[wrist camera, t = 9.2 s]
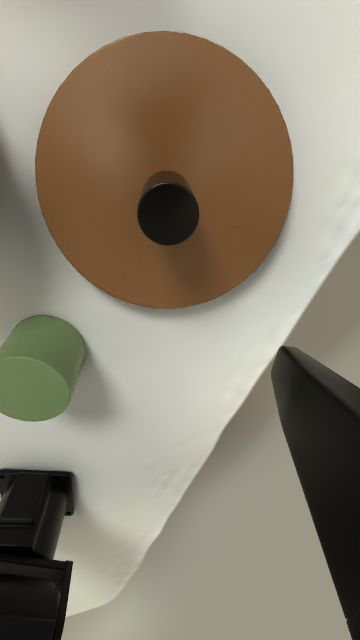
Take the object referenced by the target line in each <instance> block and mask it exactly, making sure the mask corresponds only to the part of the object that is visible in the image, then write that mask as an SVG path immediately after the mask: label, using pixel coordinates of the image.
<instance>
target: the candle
mask: <svg viewBox="0 0 360 640" xmlns="http://www.w3.org/2000/svg"><path fill="white" fill-rule="evenodd" d="M85 352H86V349H85V343H84V340H83V338H82V336H81V335H80V333H79V332H78V331H77V330H76V329H75V328H74V327H73V326H72V325H70V324H69V323H67V322H65V321H63V320H61V319H58V318H55V317H51V316H34V317H30V318H27V319H25V320H23V321H21V322H20V323H19V324H18V325H17V326H16V327H15V328H14V330H13V331H12V332H11V334H10V335H9V337H8V338H7V339H6V341H5V342H4V343H3V345H2V346H1V347H0V412H1V413H2V414H4V415H6V416H9V417H11V418H14V419H18V420H23V421H44V420H48V419H51V418H54V417H56V416H57V415H59V414H60V413H62V412H63V411H64V410H65V409H66V407H67V406H68V404H69V402H70V399H71V396H72V393H73V390H74V387H75V384H76V381H77V378H78V375H79V372H80V369H81V366H82V363H83V360H84V357H85Z"/></svg>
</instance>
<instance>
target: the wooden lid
mask: <svg viewBox="0 0 360 640" xmlns="http://www.w3.org/2000/svg"><path fill="white" fill-rule="evenodd" d="M35 172H36V186H37V193H38V199H39V202H40V206H41V210H42V214H43V216H44V219H45V221H46V224H47V226H48V229H49V231H50V233H51V235H52V237H53V239H54V240H55V242H56V244H57V246H58V247H59V249H60V250H61V252H62V253H63V254H64V256H65V257H66V259H67V260H68V261H69V262H70V263H71V264H72V265H73V267H74V268H75V269H76V270H77V271H78V272H79V273H80V274H81V275H83V276H84V277H85V278H86V279H87V280H88V281H89V282H91V283H92V284H94V285H95V286H97V287H98V288H99V289H101V290H103V291H104V292H106V293H108V294H110V295H112V296H114V297H116V298H118V299H121V300H123V301H126V302H129V303H132V304H136V305H140V306H145V307H152V308H168V309H169V308H182V307H188V306H193V305H197V304H200V303H203V302H207V301H210V300H212V299H214V298H216V297H219V296H221V295H223V294H224V293H226V292H228V291H230V290H231V289H233V288H234V287H236V286H237V285H238V284H240V283H241V282H242V281H244V280H245V279H246V278H247V277H248V276H249V275H250V274H251V273H252V272H254V271H255V270H256V269H257V267H258V266H259V265H260V264H261V263H262V261H263V260H264V259H265V258H266V256H267V255H268V253H269V252H270V250H271V249H272V247H273V246H274V244H275V242H276V240H277V238H278V236H279V234H280V232H281V230H282V228H283V225H284V222H285V219H286V217H287V214H288V210H289V205H290V201H291V197H292V188H293V156H292V148H291V142H290V138H289V134H288V131H287V127H286V124H285V121H284V119H283V116H282V114H281V111H280V109H279V107H278V105H277V103H276V101H275V100H274V98H273V96H272V95H271V93H270V91H269V89H268V88H267V87H266V86H265V84H264V83H263V82H262V80H261V79H260V78H259V77H258V75H257V74H256V73H255V72H254V71H253V70H252V69H251V68H250V67H249V66H248V65H247V64H245V63H244V62H243V61H242V60H241V59H240V58H238V57H237V56H235V55H234V54H233V53H231V52H230V51H228V50H227V49H225V48H224V47H222V46H219V45H217V44H215V43H213V42H211V41H209V40H207V39H204V38H201V37H197V36H194V35H190V34H186V33H179V32H170V31H157V32H144V33H139V34H135V35H131V36H127V37H123V38H121V39H119V40H117V41H114V42H112V43H110V44H107V45H105V46H103V47H102V48H100V49H99V50H97V51H96V52H94V53H93V54H91V55H90V56H88V57H87V58H86V59H85V60H84V61H82V62H81V63H80V64H79V65H78V66H77V67H76V68H75V69H74V70H73V71H72V72H71V73H70V74H69V76H68V77H67V78H66V79H65V81H64V82H63V83H62V84H61V86H60V87H59V89H58V90H57V92H56V94H55V96H54V97H53V99H52V101H51V102H50V104H49V107H48V109H47V112H46V114H45V117H44V119H43V122H42V125H41V129H40V133H39V137H38V141H37V150H36V159H35Z"/></svg>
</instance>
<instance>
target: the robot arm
mask: <svg viewBox="0 0 360 640" xmlns="http://www.w3.org/2000/svg"><path fill="white" fill-rule="evenodd" d="M271 379H272V383H273V388H274V393H275V398H276V403H277V407H278V412H279V416H280V421H281V425H282V428H283V431H284V435H285V438H286V441H287V444H288V447H289V449H290V453H291V456H292V459H293V462H294V465H295V467H296V471H297V474H298V477H299V479H300V483H301V486H302V488H303V492H304V495H305V498H306V501H307V504H308V507H309V510H310V513H311V516H312V519H313V522H314V525H315V528H316V531H317V534H318V537H319V540H320V543H321V546H322V549H323V552H324V555H325V558H326V561H327V564H328V567H329V570H330V573H331V576H332V579H333V582H334V585H335V588H336V591H337V594H338V597H339V600H340V603H341V606H342V609H343V612H344V615H345V618H346V619H347V625H348V628H349V631H350V634H351V637H352V640H360V388H358V387H357V386H355V385H354V384H352V383H351V382H349V381H348V380H346V379H344V378H343V377H341V376H340V375H338V374H337V373H335V372H334V371H332V370H330V369H329V368H327V367H326V366H324V365H323V364H321V363H320V362H318V361H316V360H315V359H313V358H312V357H310V356H309V355H307V354H306V353H304V352H302V351H301V350H299V349H298V348H296V347H291V346H281V347H280V348H279V350H278V352H277V355H276V358H275V360H274V363H273V366H272V369H271ZM0 494H1V498H2V499H1V501H0V640H61V636H62V632H63V627H64V621H65V616H66V609H67V601H68V594H69V587H70V580H71V573H72V566H73V561H68V560H66V562H65V561H59V560H53V558H54V554H55V550H56V546H57V542H58V538H59V534H60V531H61V527H62V523H63V519H64V516H71V515H73V514H74V509H75V508H74V487H73V474H72V473H70V472H60V471H35V470H10V469H1V470H0Z"/></svg>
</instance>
